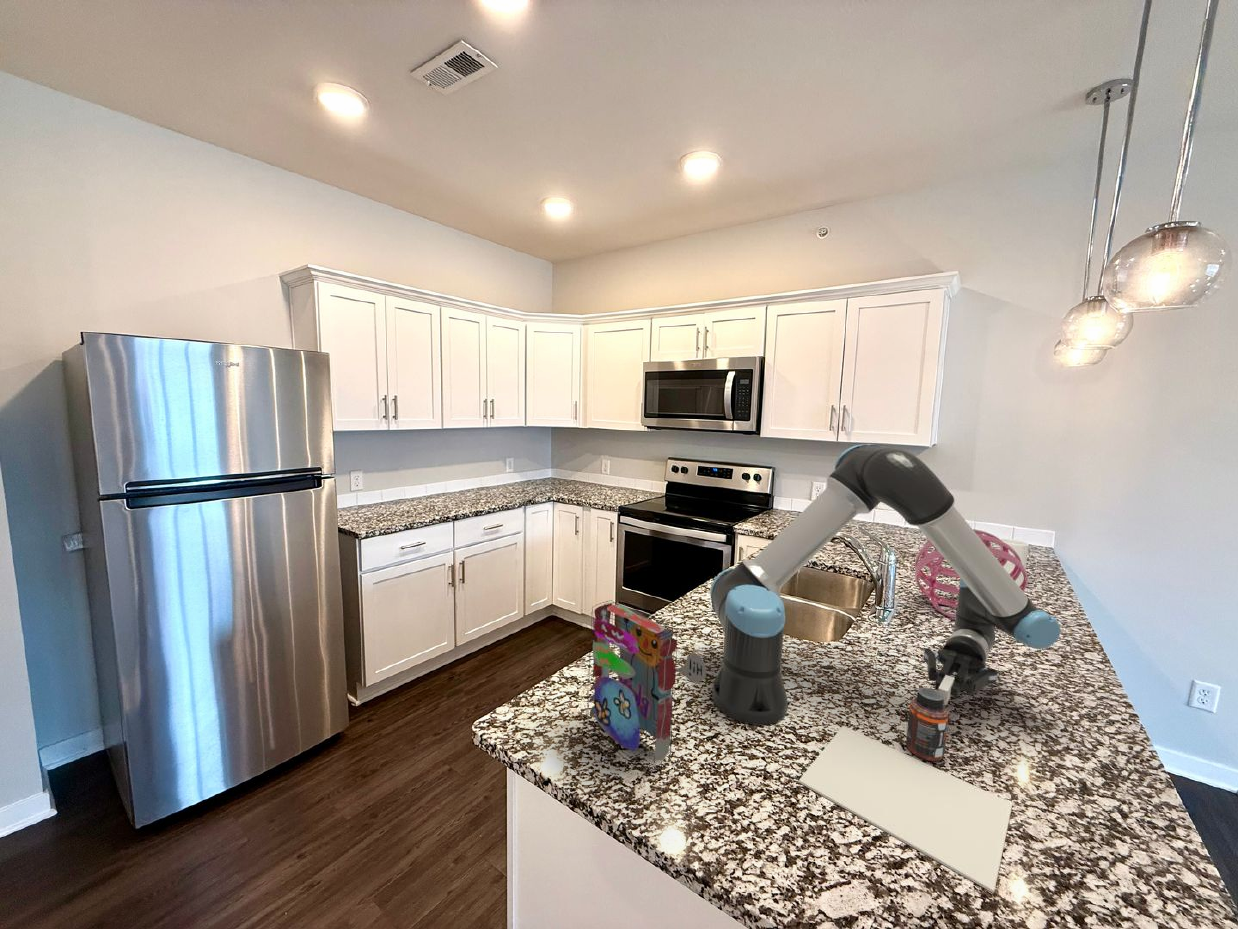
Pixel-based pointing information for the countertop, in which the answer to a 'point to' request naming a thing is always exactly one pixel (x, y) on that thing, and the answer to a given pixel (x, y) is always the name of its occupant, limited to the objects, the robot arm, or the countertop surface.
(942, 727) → the supplement bottle
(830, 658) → the countertop surface
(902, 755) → the mat
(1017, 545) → the cup
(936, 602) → the spiral basket
